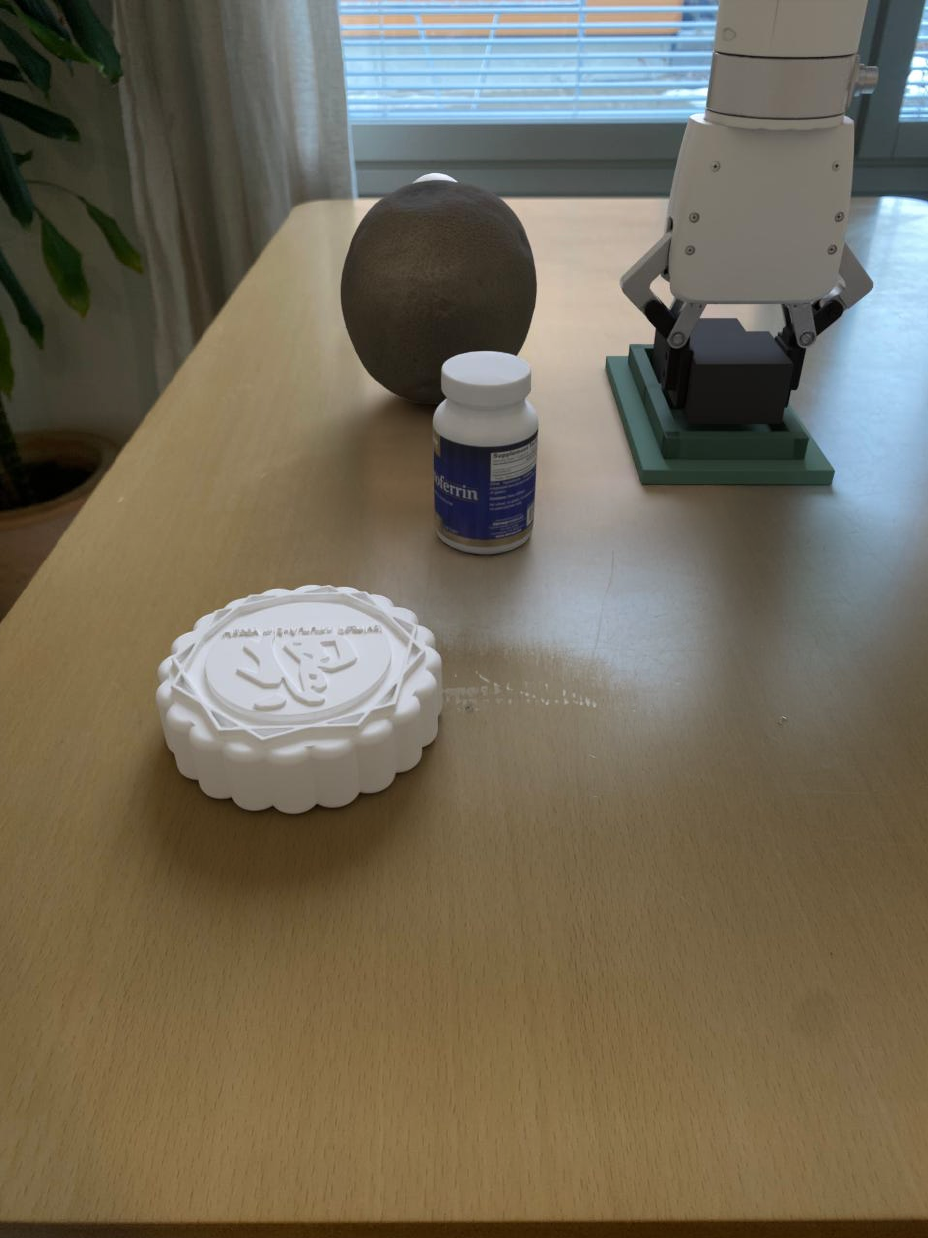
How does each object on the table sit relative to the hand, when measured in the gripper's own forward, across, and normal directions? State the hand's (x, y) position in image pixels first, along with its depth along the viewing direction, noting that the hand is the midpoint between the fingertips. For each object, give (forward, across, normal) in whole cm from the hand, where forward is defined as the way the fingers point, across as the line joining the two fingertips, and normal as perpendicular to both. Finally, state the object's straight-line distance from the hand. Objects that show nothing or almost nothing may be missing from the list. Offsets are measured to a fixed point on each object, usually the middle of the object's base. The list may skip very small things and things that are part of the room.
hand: (726, 397), depth 62 cm
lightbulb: (+3, +20, -32) cm, 38 cm away
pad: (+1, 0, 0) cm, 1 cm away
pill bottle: (+3, +16, +12) cm, 20 cm away
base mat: (+3, 0, -4) cm, 5 cm away
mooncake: (+3, +24, +28) cm, 37 cm away
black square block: (+2, 0, -8) cm, 8 cm away
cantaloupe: (+3, +19, -7) cm, 21 cm away
